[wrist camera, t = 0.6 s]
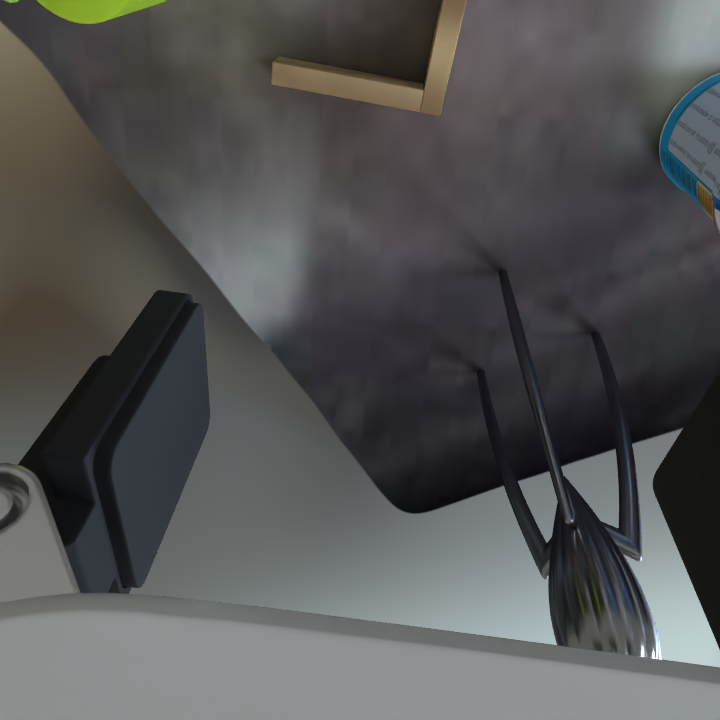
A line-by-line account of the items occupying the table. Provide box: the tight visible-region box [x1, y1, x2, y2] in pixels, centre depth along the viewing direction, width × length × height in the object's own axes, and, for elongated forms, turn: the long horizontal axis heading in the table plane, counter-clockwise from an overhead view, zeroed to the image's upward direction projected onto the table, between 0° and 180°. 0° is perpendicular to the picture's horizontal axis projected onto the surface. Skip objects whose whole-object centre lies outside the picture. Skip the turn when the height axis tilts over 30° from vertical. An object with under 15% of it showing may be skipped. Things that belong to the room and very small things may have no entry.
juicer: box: [477, 269, 661, 659], centre depth 38 cm, size 10×11×30 cm
